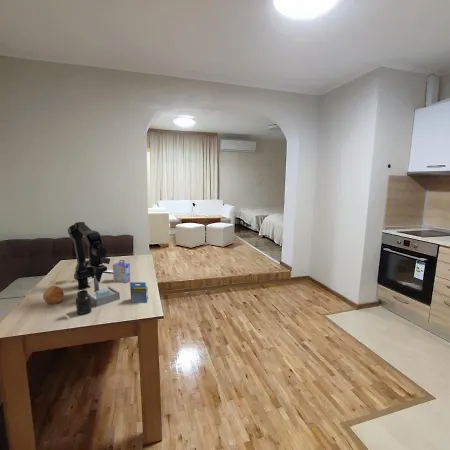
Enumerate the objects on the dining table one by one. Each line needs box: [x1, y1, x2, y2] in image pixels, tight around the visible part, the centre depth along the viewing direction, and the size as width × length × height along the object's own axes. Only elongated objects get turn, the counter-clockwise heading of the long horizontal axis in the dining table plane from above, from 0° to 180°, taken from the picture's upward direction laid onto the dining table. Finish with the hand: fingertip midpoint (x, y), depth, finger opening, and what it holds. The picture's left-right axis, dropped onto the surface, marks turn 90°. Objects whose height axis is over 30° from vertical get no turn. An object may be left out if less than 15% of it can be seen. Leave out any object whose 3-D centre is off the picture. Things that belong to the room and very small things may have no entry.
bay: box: [88, 285, 121, 308], centre depth 159 cm, size 13×14×5 cm
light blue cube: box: [96, 288, 109, 299], centre depth 159 cm, size 5×5×5 cm
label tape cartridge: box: [129, 281, 149, 304], centre depth 158 cm, size 9×4×12 cm, turn 91°
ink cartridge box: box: [112, 259, 131, 284], centre depth 187 cm, size 10×6×14 cm, turn 78°
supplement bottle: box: [75, 289, 93, 316], centre depth 144 cm, size 7×7×12 cm
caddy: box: [89, 276, 114, 299], centre depth 159 cm, size 14×11×12 cm
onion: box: [42, 285, 65, 305], centre depth 155 cm, size 10×10×10 cm
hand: (96, 280), depth 162 cm, fingers open, 8 cm apart
